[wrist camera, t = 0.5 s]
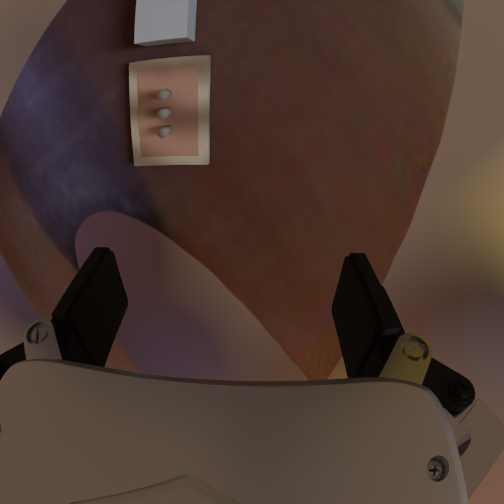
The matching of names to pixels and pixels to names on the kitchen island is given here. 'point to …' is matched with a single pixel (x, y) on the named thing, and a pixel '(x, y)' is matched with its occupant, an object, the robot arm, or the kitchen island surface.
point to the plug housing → (164, 22)
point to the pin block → (170, 110)
